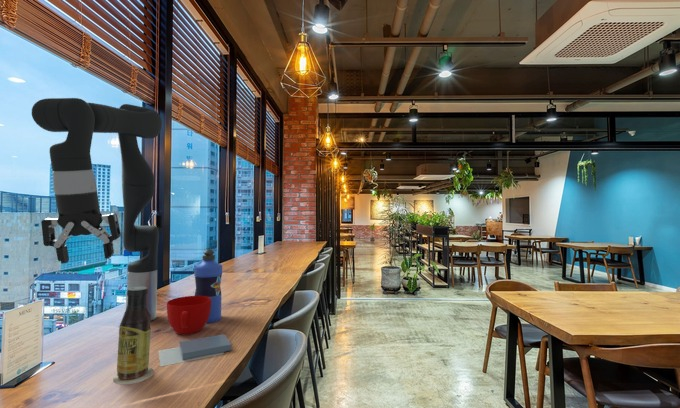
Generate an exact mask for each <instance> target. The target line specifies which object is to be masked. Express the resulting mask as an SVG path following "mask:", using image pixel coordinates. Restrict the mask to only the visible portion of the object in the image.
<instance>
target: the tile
mask: <svg viewBox="0 0 680 408" xmlns="http://www.w3.org/2000/svg"><path fill="white" fill-rule="evenodd" d="M178 344H179V345H178V347H179V348H180V352H181V356H182V360H184V359H190V358H195V357H200V356H205V355H210V354H215V353H220V352H223V353H224V352H229V351H232V343H231V342H230V340H229V339H228V338H227V336H226V334H225V333H224V334H218V335H211V336H206V337H200V338H193V339H187V340H181V341H179V343H178Z"/></svg>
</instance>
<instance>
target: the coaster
mask: <svg viewBox="0 0 680 408" xmlns="http://www.w3.org/2000/svg"><path fill="white" fill-rule="evenodd" d="M154 373H155V370H154V368H152V367H149V366H148V371H147V373H146V374H144V375H143V376H141V377H138V378H136V379H133V380H121V379H119V378H118V376H117V374H116V375H115V376H114V377H113V379H112V381H113V383H114V384H117V385H131V384H137V383H140V382H142V381H145V380H147V379H149V378H150V377H152V376H153V375H154Z"/></svg>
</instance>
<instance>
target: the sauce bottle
mask: <svg viewBox="0 0 680 408" xmlns="http://www.w3.org/2000/svg"><path fill="white" fill-rule="evenodd" d="M126 293H127V296H128V302H127V308H126V307H125V311H124V314H123V316H122V318H121V320H120V321H121V322H120V324H119V327H118V331H119V332H118V344H117V346H118V347H117V363H116V371H117V373H116V375H117V376H118V378H119V379H121V380H133V379H136V378H138V377H141V376H143V375H144V374H146V373H147V371H148V367H149V363H150V362H149V361H150V349H151V348H150V347H151V346H150V345H151V344H150V343H151V329H152V328H151V322H152V320H151V315H150V313H149V312H148V310H147V308H146V295H147V293H148V288H147V287H132V288H129V289H128V290H127V289H126Z"/></svg>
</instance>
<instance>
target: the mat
mask: <svg viewBox="0 0 680 408" xmlns="http://www.w3.org/2000/svg"><path fill="white" fill-rule="evenodd" d="M220 355H225V353H224V352H220V353H215V354H210V355H205V356H200V357H195V358H190V359H184V360H182V356H181V352H180V348H179V346H178V347H177V346H176V347H172V348H171V347H170V348H166V349H165V348H164V349H160V350H159V349H158V358H159V366H160V368H161V367H165V366H170V365H176V364H180V363H186V362H192V361H195V360H200V359H206V358H210V357H215V356H220Z"/></svg>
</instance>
